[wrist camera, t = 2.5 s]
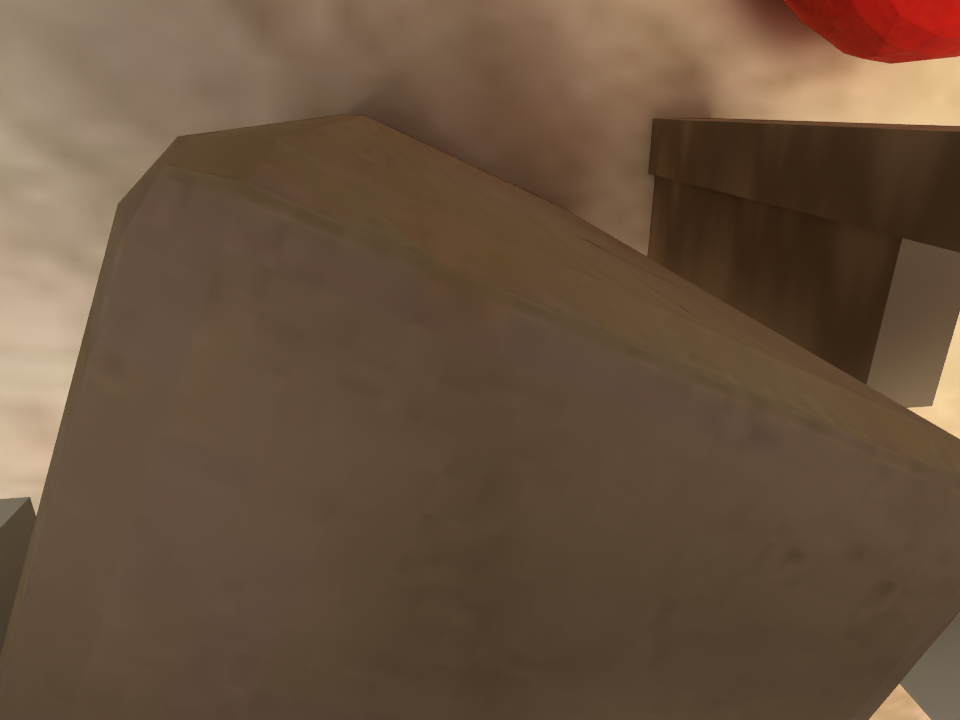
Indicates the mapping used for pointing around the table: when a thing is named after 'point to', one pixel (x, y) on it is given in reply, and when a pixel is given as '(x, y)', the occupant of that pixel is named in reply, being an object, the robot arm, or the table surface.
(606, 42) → the table surface
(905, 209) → the wall frame
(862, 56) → the apple
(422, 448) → the wooden block
